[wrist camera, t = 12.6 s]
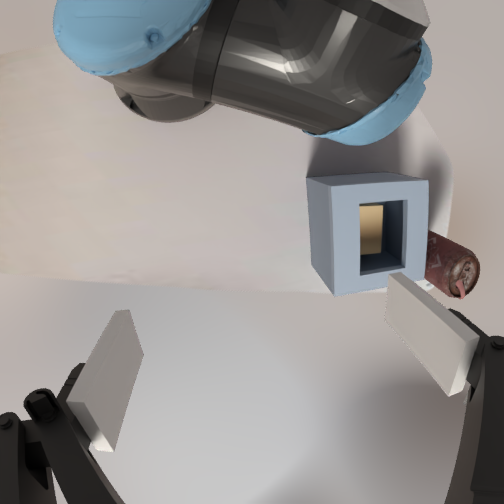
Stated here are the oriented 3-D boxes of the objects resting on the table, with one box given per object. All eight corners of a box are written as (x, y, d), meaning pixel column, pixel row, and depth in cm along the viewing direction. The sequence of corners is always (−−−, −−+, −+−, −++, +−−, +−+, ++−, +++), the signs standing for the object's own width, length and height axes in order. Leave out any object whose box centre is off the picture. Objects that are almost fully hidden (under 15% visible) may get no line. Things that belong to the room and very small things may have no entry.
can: (396, 269, 45) (448, 311, 32) (388, 232, 43) (444, 265, 30) (427, 254, 45) (483, 289, 32) (420, 217, 43) (481, 244, 30)
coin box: (306, 177, 40) (330, 186, 30) (387, 172, 40) (428, 180, 31) (311, 265, 44) (334, 296, 34) (388, 253, 44) (424, 279, 35)
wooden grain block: (338, 199, 40) (353, 206, 36) (366, 198, 41) (382, 205, 36) (338, 243, 42) (352, 255, 38) (364, 241, 43) (380, 252, 38)
